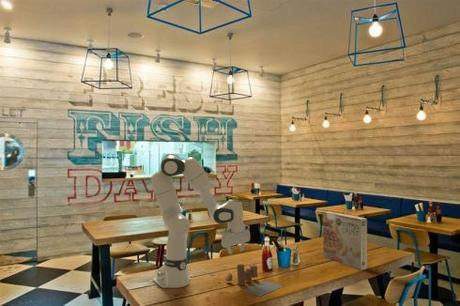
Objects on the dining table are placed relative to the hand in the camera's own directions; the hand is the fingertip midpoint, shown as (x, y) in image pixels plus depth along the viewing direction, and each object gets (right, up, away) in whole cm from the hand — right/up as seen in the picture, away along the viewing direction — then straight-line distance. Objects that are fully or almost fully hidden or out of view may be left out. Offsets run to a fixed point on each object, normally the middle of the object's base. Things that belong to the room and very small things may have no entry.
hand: (236, 252), depth 206 cm
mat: (+14, -15, -15) cm, 25 cm away
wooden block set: (+4, -16, -6) cm, 17 cm away
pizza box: (+70, -16, +26) cm, 76 cm away
